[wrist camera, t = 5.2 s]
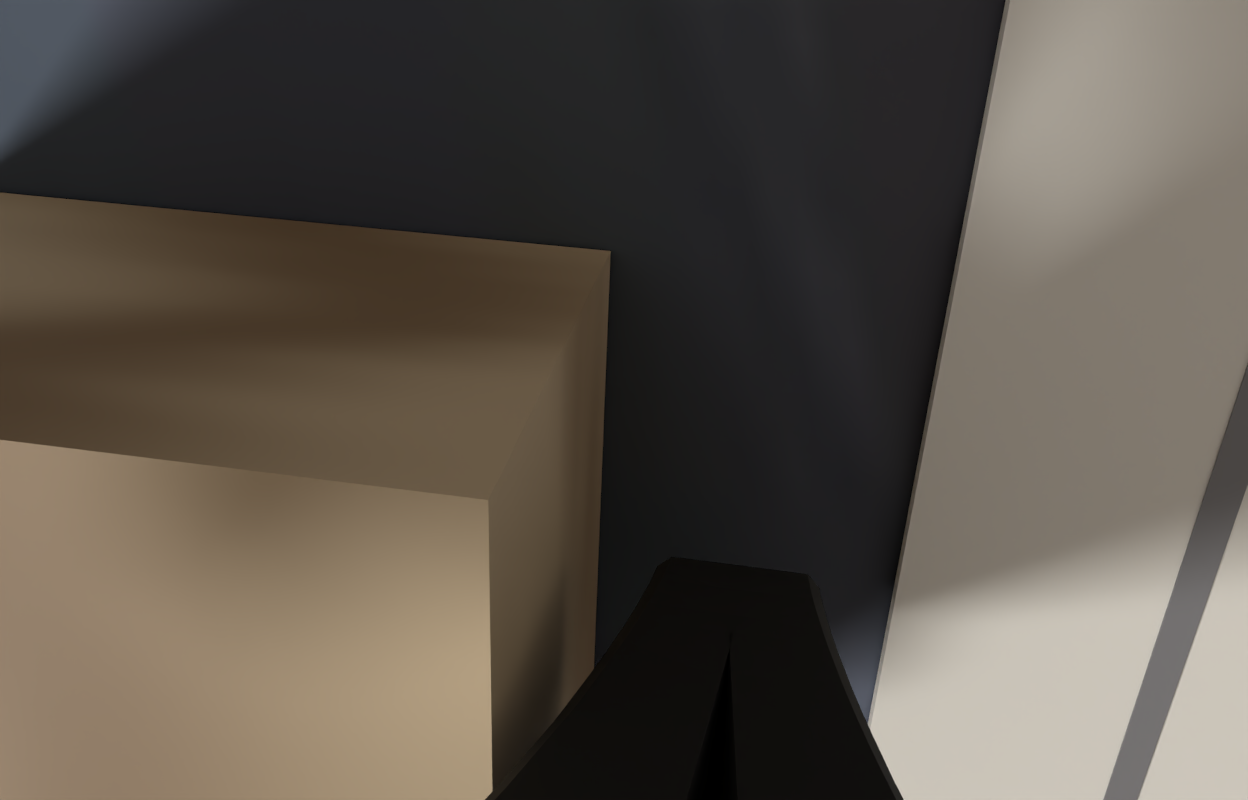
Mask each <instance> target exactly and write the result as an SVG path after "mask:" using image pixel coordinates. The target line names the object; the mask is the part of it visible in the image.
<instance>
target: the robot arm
mask: <svg viewBox="0 0 1248 800" xmlns="http://www.w3.org/2000/svg"><path fill="white" fill-rule="evenodd" d="M485 800H904V799H903V797H902V795H901V793H900V791H899V789H898V787H897V786H896V784H895V782H894V780H893V778H892V775H891V773H890V771H889V769H888V767H887V765H886V763H885V761H884V758H883V756H882V754H881V752H880V750H879V748H878V746H877V743H876V741H875V739H874V737H873V735H872V733H871V731H870V728H869V726H868V724H867V722H866V720H865V718H864V716H863V713H862V711H861V709H860V706H859V704H858V702H857V699H856V697H855V695H854V692H853V690H852V687H851V685H850V682H849V680H848V677H847V674H846V672H845V669H844V667H843V664H842V662H841V659H840V656H839V654H838V651H837V648H836V645H835V642H834V639H833V637H832V634H831V631H830V627H829V624H828V621H827V618H826V614H825V610H824V607H823V603H822V599H821V594H820V589H819V587H818V586H817V585H816V583H815V582H814V581H813V580H812V579H811V577H810V576H809V575H808V574H802V573H794V572H786V571H778V570H770V569H763V568H755V567H747V566H739V565H731V564H723V563H716V562H708V561H700V560H692V559H684V558H676V557H671V558H669V559H668V560H666V561H665V562H663V563H662V564H660V565H659V566H657V568H656V571H655V573H654V575H653V577H652V579H651V581H650V583H649V585H648V587H647V589H646V591H645V592H644V594H643V596H642V598H641V600H640V601H639V603H638V605H637V606H636V608H635V610H634V611H633V613H632V614H631V616H630V617H629V619H628V621H627V622H626V624H625V625H624V627H623V628H622V630H621V631H620V633H619V634H618V636H617V637H616V639H615V640H614V641H613V643H612V644H611V646H610V647H609V649H608V650H607V652H606V653H605V655H604V656H603V657H602V659H601V660H600V661H599V663H598V664H597V665H596V667H595V668H594V669H593V671H592V672H591V673H590V675H589V676H588V677H587V679H586V680H585V681H584V683H583V684H582V685H581V686H580V688H579V689H578V690H577V692H576V693H575V694H574V696H573V697H572V698H571V700H570V701H569V702H568V704H567V705H566V706H565V708H564V709H563V710H562V711H561V713H560V714H559V715H558V716H557V718H556V719H555V720H554V721H553V723H552V724H551V725H550V726H549V727H548V729H547V730H546V731H545V732H544V733H543V734H542V735H541V737H540V738H539V739H538V740H537V741H536V742H535V743H534V745H533V746H532V747H531V748H530V749H529V750H528V751H527V753H526V754H525V755H524V756H523V757H522V758H521V760H520V761H519V762H518V763H517V764H516V765H515V766H514V768H513V769H512V770H511V771H510V772H509V773H508V774H507V776H506V777H505V778H504V779H503V780H502V781H501V782H500V784H499V785H498V786H497V787H496V788H495V789H494V790H493V791H492V793H491V794H490V795H489V796H488V797H487V798H486V799H485Z"/></svg>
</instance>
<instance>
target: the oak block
mask: <svg viewBox="0 0 1248 800" xmlns="http://www.w3.org/2000/svg"><path fill="white" fill-rule="evenodd" d="M610 256H611V251H605V250H594V249H584V248H574V247H563V246H553V245H542V244H532V243H521V242H511V241H501V240H490V239H480V238H469V237H459V236H448V235H438V234H428V233H417V232H407V231H396V230H386V229H375V228H365V227H355V226H344V225H334V224H323V223H313V222H302V221H292V220H282V219H271V218H261V217H250V216H240V215H229V214H219V213H209V212H198V211H188V210H177V209H167V208H156V207H146V206H136V205H125V204H115V203H104V202H94V201H84V200H73V199H63V198H52V197H42V196H31V195H21V194H11V193H0V800H485V799H486V798H487V797H488V796H489V795H490V794H491V793H492V791H493V790H494V789H495V788H496V787H497V786H498V785H499V784H500V782H501V781H502V780H503V779H504V778H505V777H506V776H507V774H508V773H509V772H510V771H511V770H512V769H513V768H514V766H515V765H516V764H517V763H518V762H519V761H520V760H521V758H522V757H523V756H524V755H525V754H526V753H527V751H528V750H529V749H530V748H531V747H532V746H533V745H534V743H535V742H536V741H537V740H538V739H539V738H540V737H541V735H542V734H543V733H544V732H545V731H546V730H547V729H548V727H549V726H550V725H551V724H552V723H553V721H554V720H555V719H556V718H557V716H558V715H559V714H560V713H561V711H562V710H563V709H564V708H565V706H566V705H567V704H568V702H569V701H570V700H571V698H572V697H573V696H574V694H575V693H576V692H577V690H578V689H579V688H580V686H581V685H582V684H583V683H584V681H585V680H586V679H587V677H588V676H589V675H590V673H591V672H592V671H593V669H594V655H595V630H596V605H597V580H598V555H599V530H600V506H601V481H602V456H603V431H604V406H605V381H606V356H607V331H608V306H609V281H610Z"/></svg>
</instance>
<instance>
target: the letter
mask: <svg viewBox="0 0 1248 800" xmlns="http://www.w3.org/2000/svg"><path fill="white" fill-rule="evenodd" d="M868 726H869V728H870V731H871V733H872V735H873V737H874V739H875V741H876V743H877V746H878V748H879V750H880V752H881V754H882V756H883V758H884V761H885V763H886V765H887V767H888V769H889V771H890V773H891V775H892V778H893V780H894V782H895V784H896V786H897V787H898V789H899V791H900V793H901V795H902V797H903V799H904V800H1248V0H1005V6H1004V11H1003V16H1002V22H1001V27H1000V32H999V37H998V43H997V48H996V53H995V58H994V64H993V69H992V74H991V79H990V85H989V90H988V95H987V100H986V106H985V111H984V116H983V121H982V127H981V132H980V137H979V142H978V148H977V153H976V158H975V163H974V169H973V174H972V179H971V184H970V190H969V195H968V200H967V205H966V211H965V216H964V221H963V226H962V232H961V237H960V242H959V247H958V253H957V258H956V263H955V269H954V274H953V279H952V284H951V290H950V295H949V300H948V305H947V311H946V316H945V321H944V326H943V332H942V337H941V342H940V347H939V353H938V358H937V363H936V368H935V374H934V379H933V384H932V389H931V395H930V400H929V405H928V410H927V416H926V421H925V426H924V431H923V437H922V442H921V447H920V452H919V458H918V463H917V468H916V473H915V479H914V484H913V489H912V494H911V500H910V505H909V510H908V516H907V521H906V526H905V531H904V537H903V542H902V547H901V552H900V558H899V563H898V568H897V573H896V579H895V584H894V589H893V594H892V600H891V605H890V610H889V615H888V621H887V626H886V631H885V636H884V642H883V647H882V652H881V657H880V663H879V668H878V673H877V678H876V684H875V689H874V694H873V699H872V705H871V710H870V715H869V720H868Z"/></svg>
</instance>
